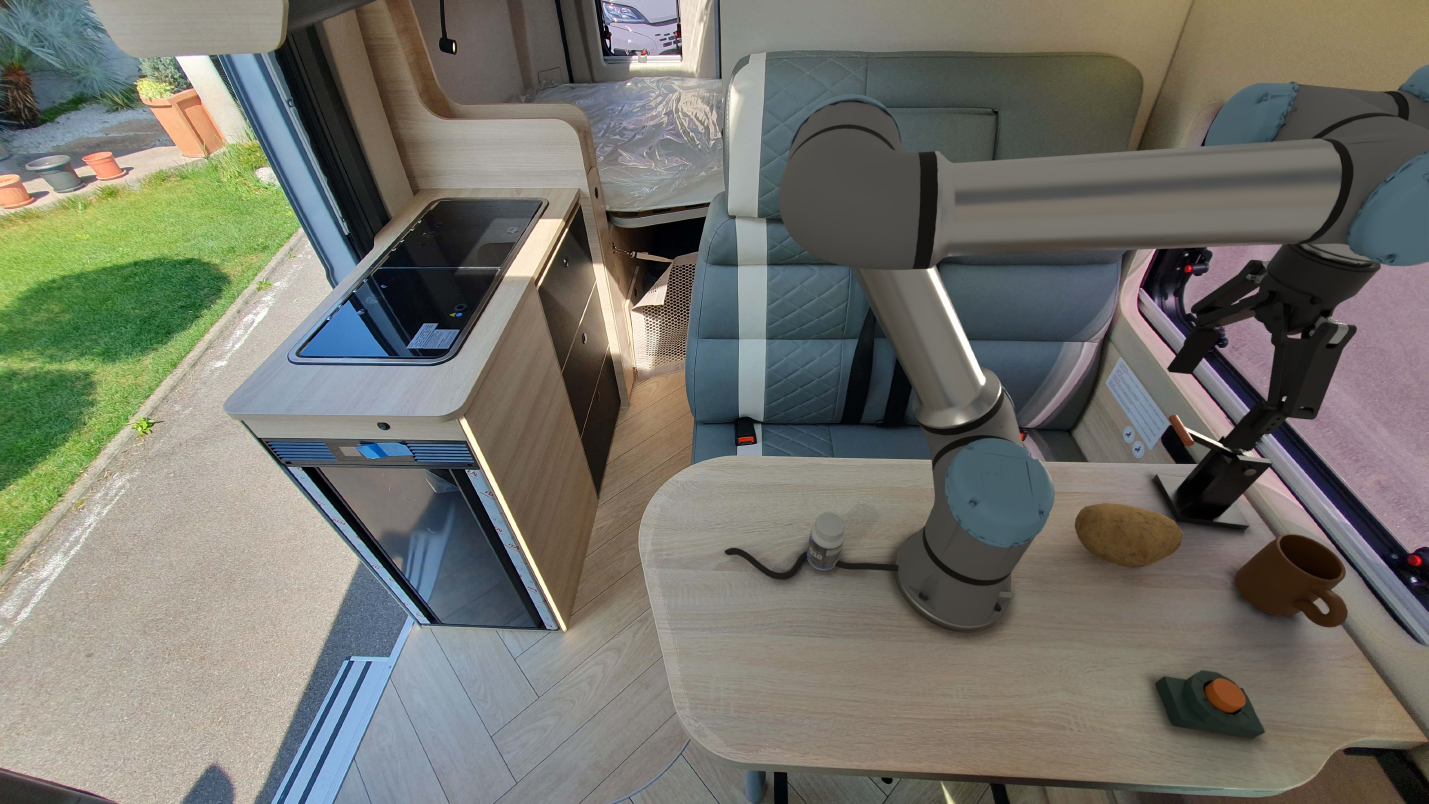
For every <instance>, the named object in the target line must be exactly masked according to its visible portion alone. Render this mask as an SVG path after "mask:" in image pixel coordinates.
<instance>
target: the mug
mask: <svg viewBox="0 0 1429 804" xmlns="http://www.w3.org/2000/svg"><path fill="white" fill-rule="evenodd" d="M1346 572H1347V570H1346V568H1345V564H1344V563H1343V561H1342V560H1341V558H1340V557H1339V556H1338V555H1337V553H1335V552H1333V550H1331V548H1329V547H1328V546H1326V545H1324V544H1323V543H1321V542H1319V541H1318V540H1315V539H1313V538H1311V537H1309V536H1306V535H1302V534H1299V533H1283V534H1280V535H1279V536H1277V537H1275V538H1274V539H1273V540H1271V541H1270V542H1269V543H1267V544H1266V545H1265V546H1264V547H1263V548H1261V549H1260V550H1259V551H1258V552H1257V553H1256V554H1254V555H1253V556H1252V557H1251V558H1250V559H1249V560H1248V561H1247V562H1246V563H1244V565H1243V566H1241V567H1240V568H1239V569H1238V570H1237V572H1236V573H1235V575H1234V584H1235V587H1236V589H1237V590H1238V593H1239V594H1240V595H1241V596H1242V597H1243V598H1244V599H1245V600H1246V601H1247V602H1248V603H1249V604H1251V605H1252V606H1253V607H1255V608H1256V609H1258V610H1260V611H1262V612H1264V613H1266V614H1269V615H1271V616H1274V617H1282V618H1283V617H1286V618H1287V617H1291V616H1294V615H1297V614H1298V613H1300V612H1302V613H1303V614H1304V616H1305V617H1306V618H1307V619H1308V620H1310V622H1312V623H1314V624H1315V625H1317V626H1320V627H1322V628H1328V629H1329V628H1336V627H1339V626H1341V625H1343V623H1345V622H1346V620H1347V618H1348V614H1349V610H1348V607H1347V605H1346V603H1345V601H1344V599H1343V598H1342V597H1341V596H1340V595H1339V594H1337V593H1336V592H1335V591H1333V589H1335V588H1336V587H1337V586H1338V585H1339V584H1340V583H1342V581H1343V580H1344V579H1345V578H1346V576H1347V575H1346V574H1347V573H1346ZM1319 599H1321V600H1322V601H1323V602H1324V603H1325V604H1326V605H1327V606H1328V612H1327V613H1324V612H1323V611H1322V610H1321V609H1320V607H1319V606H1318V605H1317V604H1316V603H1315V602H1316V601H1317V600H1319Z"/></svg>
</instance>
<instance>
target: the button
mask: <svg viewBox="0 0 1429 804" xmlns="http://www.w3.org/2000/svg"><path fill="white" fill-rule="evenodd" d="M1239 687H1240V686H1239ZM1239 687H1237V686H1236V685H1235V684H1234V683H1232V682H1230V681H1228V680H1226V679H1216V680H1214V681H1213V682H1211V683H1210V684H1208V685H1207V686H1206V687H1205V695H1206V697H1207V699H1208V700H1209V702H1210V703H1211V704H1212V705H1213V706H1214V707H1216V708H1217V709H1219V710H1221V711H1223V712H1226V713H1233V712H1235V711H1236V710H1238V709H1240V708H1241V707H1243V706H1244V705H1245V703H1246V699H1245V696H1244V694H1243V692H1242V691H1241V690H1240V689H1239Z"/></svg>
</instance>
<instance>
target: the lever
mask: <svg viewBox="0 0 1429 804" xmlns="http://www.w3.org/2000/svg"><path fill="white" fill-rule="evenodd" d="M1168 421H1169V423H1170V424H1171V426H1172V427H1173V429H1174V431H1175V432H1176V434H1177V436H1178V437H1179V439H1180V441H1181V442H1182V443H1183V445H1184V446H1185V447H1193V446H1194V445H1195V443H1196V444H1198V445H1201V446H1202V447H1205V448H1207V449H1209V450H1213V451H1216V452H1218V453H1220V454H1222V456H1223V457H1224V458H1225V460H1226V461H1227V463H1228V464H1229V463H1230V462H1231V461H1232V459H1233V458H1234V457H1235V456H1236V455H1240V456H1248V457H1256V455H1254V453H1253V452H1252V450H1251V451H1250V450H1245V449H1236V448H1227V447H1224V446H1223V445H1222V444H1220V443H1218V441H1216V440H1214V439H1212V438H1210V437H1208V436H1205V435H1203V434H1201V433H1199V432H1197V431H1195V430H1193V429H1190V428H1188V427H1187V426H1185V425H1184V423H1183V421H1182V420H1181V418H1180V417H1179V416H1178V415H1177V414H1172V415H1170V416H1169V417H1168Z"/></svg>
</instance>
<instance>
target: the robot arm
mask: <svg viewBox="0 0 1429 804" xmlns="http://www.w3.org/2000/svg"><path fill="white" fill-rule="evenodd" d="M902 143H903V141H902V132H901V128H900V125H899V123H898V121H897V119H896V118H895V115H893V114H892V113H891V111H890V110H889V109H888V108H887V107H886V106H885V105H884V104H882V102H880V101H879V100H878V99H875V98H873V97H870V96H868V95H864V94H858V93H846V94H845V93H844V94H840V95H835V96H833V97H830V98H828V99H826V100H824V101H822V102H821V103H819V104H817V105H816V106H815V107H814V108H813V109H812V110H811V111H810V112H808V114H806V116H805V117H804V119H803V120H802V121H801V123H799V125H798V127H797V128H796V129H795V132H794V133H793V135H792V138H791V141H790V145H789V149H788V156H787V160H786V165H785V167H784V171H783V173H782V176H781V179H780V183H779V189H778V207H779V212H780V216H781V220H782V222H783V224H784V227H785V230H786V231H787V233H788V234H789V235H790V237H791V238H792V240H793V241H794V242H795V243H796V244H797V245H798V246H799V247H800V248H801V249H802V250H804V251H805V252H807V253H808V254H810V255H812V257H813V256H814V257H815V258H817V259H819V260H821V261H825V262H828V263H832V264H834V265H838V266H844V267H849V269H850V271H851V273H852V274H853V277H854V279H855V280H856V282H857V285H858V286H859V288H860V290H861V292H862V293H863V296H864V298H865V299H866V301H867V303H868V305H869V307H870V309H871V311H872V313H873V315H874V316H875V319H876V320H877V322H878V324H879V326H880V328H881V330H882V332H883V334H884V336H885V337H886V340H887V341H888V343H889V346H890V347H891V349H892V351H893V353H894V355H895V356H896V359H897V361H898V362H899V365H900V366H901V368H902V370H903V372H904V374H905V376H906V378H907V379H908V382H909V383H910V385H911V387H912V389H913V391H914V396H913V398H912V400H911V412H912V414H913V416H914V418H915V419H916V421H917V423H918V425H919V427H920V429H921V431H922V433H923V435H924V436H925V439H926V440H927V441H926V442H927V445H928V447H929V452H930V460H931V469H932V470H931V472H932V480H933V481H932V482H933V489H934V500H933V506H932V508H931V510H930V513H929V514H928V517H927V521H926V522H925V525H924V526H922V527H921V528H920V529H919V530H918V531H916V532H914V533H913V534H911V535H910V536H909V537H907V538H906V540H905V541H904V542H903V543H902V545H901V546H900V548H899V550H898V553H897V556H896V558H895V562H894V564H892V563H891V564H890V563H878V562H877V563H876V562H846V561H841V560H838V561H837V563H836V564H835V567H836V568H839V569H843V570H851V571H852V570H853V571H858V570H860V571H862V570H866V571H867V570H868V571H871V570H872V571H884V572H894V576H895V577H894V578H895V582H896V585H897V587H898V590H899V592H900V593H901V595H902V597H903V598H904V599H905V601H906V602H907V603H908V604H909V606H910V607H911V608H912V609H913V610H914V611H915V612H917V614H918V615H920V616H922V617H923V618H924V619H926V620H927V621H929V622H931V623H932V624H934V625H936V626H938V627H941V628H944V629H946V630H949V631H953V632H954V631H955V632H962V633H974V632H979V631H982V630H985V629H988V628H990V627H992V626H993V625H994V624H995V623H997V621H999V620H1000V618H1001V617H1002V616H1003V614H1004V613H1005V611H1006V610H1007V607H1008V605H1009V603H1010V599H1014V597H1015V596H1016V595H1017V592H1015V591H1012V572H1013V571H1014V569H1015V567H1016V566H1017V565H1018V563H1019V562H1020V560H1021V559H1022V558H1023V556H1024V554H1025V553H1026V552H1027V550H1028V549H1029V547H1030V545H1031V544H1032V543H1033V541H1034V539H1035V538H1036V536H1038V535H1039V534H1040V533H1041V532H1042V531H1043V529H1044V527H1045V526H1046V523H1047V521H1048V519H1049V517H1050V513H1051V511H1052V509H1053V506H1054V502H1055V486H1054V482H1053V481H1054V480H1053V479H1052V476H1051V474H1050V472H1049V470H1048V469H1047V467H1046V466H1045V464H1044V463H1043V462H1042V461H1041V460H1040V459H1039V458H1032V457H1031V456H1032V452H1031V451H1030V450H1029V449H1027V448H1025V447H1024V443H1023V439H1022V435H1021V432H1020V428H1019V424H1018V421H1017V417H1016V415H1017V414H1016V413H1017V412H1016V408H1015V404H1014V402H1013V400H1012V398H1011V396H1010V394H1009V393H1008V391H1007V389H1006V388H1005V387H1004V385H1003V384H1002V383H1001V380H1000V379H999V377H998V376H997V375H996V373H995V372H993V371H992V370H991V369H989V368H986V367H984V366H981V365H980V364H979V362H978V360H977V357H976V355H975V352H974V350H973V348H972V346H971V344H970V341H969V338H968V336H967V335H966V331H965V329H964V328H963V327H964V326H963V325H962V323H961V321H960V318H959V316H958V314H957V313H958V312H957V311H956V308H955V306H954V304H953V302H952V300H951V297H950V295H949V293H948V291H947V288H946V286H945V284H944V281H943V279H942V276H941V274H940V272H939V270H938V267H937V264H939V262H941V261H942V260H943V259H945V258H948V257H966V256H967V257H969V256H973V257H974V256H996V255H997V256H998V255H1025V254H1027V255H1028V254H1029V255H1030V254H1055V253H1080V252H1081V253H1083V252H1084V253H1085V252H1108V251H1109V252H1111V251H1134V250H1137V251H1138V250H1165V249H1167V250H1169V249H1192V248H1219V247H1222V248H1223V247H1224V248H1225V247H1247V246H1248V247H1250V246H1252V247H1253V246H1277V245H1280V247H1279V248H1278V250H1277V251H1276V252H1275V253H1274V255H1273V256H1272V257H1271V259H1270V260H1262V259H1250V260H1248V261H1247V263H1246V264H1245V265H1244V266H1243V268H1241V270H1240V271H1239V272H1238V273H1237V274H1235V276H1233V277H1232V278H1230V279H1228V280H1227V281H1226V282H1224V283H1223V284H1222V285H1220V286H1219V287H1217V288H1216V289H1214V290H1213V291H1211V292H1210V293H1208V294H1207V295H1206V296H1204V297H1203V298H1202V299H1200V300H1199V301H1197V302H1196V303H1193V305H1192V306H1191V307H1190V313H1191V314H1193V315H1195V316H1196V318H1195V319H1194V326H1193V328H1192V330H1191V331H1190V332H1189V334H1188V335H1187V336H1186V338H1185V339H1184V341H1183V346H1182V347H1181V348H1180V350H1179V351H1177V354H1176V355H1175V357H1174V358H1173V359H1172V361H1171V362H1170V364H1169V365H1168V366H1167V367H1166V370H1167V372H1169V373H1173V374H1182V375H1192V374H1193V372H1194V371H1195V370H1196V369H1197V367H1198V366H1199V365H1200V363H1201V362H1202V361H1203V359H1205V357H1206V356H1207V354H1208V353H1209V352H1210V350H1211V349H1212V347H1213V346H1214V345H1215V344H1216V342H1218V340H1219V339H1220V337H1221V336H1222V334H1223V333H1222V332H1221V331H1220V330H1219V329H1224V330H1225V329H1226V328H1225V327H1226V326H1230V325H1232V324H1235V323H1238V322H1241V321H1244V320H1248V319H1250V318H1251V319H1252V318H1254V319H1255V320H1256V321H1257V322H1259V323H1261V324H1263V326H1264V328H1265V330H1266V331H1267V332H1268V333H1269V334H1271V336H1270V343H1271V345H1273V347H1274V351H1273V358H1272V364H1271V372H1270V378H1269V379H1270V380H1269V386H1268V391H1267V392H1268V393H1267V399H1266V400H1265V401H1264V400H1258V401H1257V402H1256V403H1255V404H1254V406H1252V407H1251V409H1250V410H1249V411H1248V412H1246V414H1245V415H1244V416H1243V417H1242V419H1241V420H1240V421H1238V423H1237V424H1236V425H1235V426H1234V427H1233V428H1232V430H1230V431H1229V432H1228V434H1227V435H1225V436H1226V437H1225V438H1224V439H1223V441H1222V442H1221V444H1222V445H1223V446H1224V447H1227V448H1236V449H1245V450H1250V449H1251V447H1252V446H1253V445H1254V444H1255V443H1256V442H1257V443H1258V441H1260V439H1261V438H1262V437H1263V436H1264V435H1270V434H1273V433H1274V432H1275V431H1276V430H1277V429H1278V428H1279V427H1280V426H1281V425H1282V424H1283V423H1284V422H1285V421H1286V420H1287V419H1288V418H1290V419H1297V420H1299V419H1300V420H1308V421H1310V420H1311V421H1313V420H1315V419H1316V418H1317V417H1318V415H1319V412H1320V409H1321V407H1322V404H1323V402H1324V400H1325V396H1326V394H1327V392H1328V389H1329V387H1330V384H1331V381H1332V379H1333V376H1334V373H1335V371H1336V369H1337V367H1338V363H1339V361H1340V358H1341V356H1342V353H1343V351H1344V349H1345V347H1346V346H1347V345H1348V344H1349V343H1350V341H1351V340H1352V339H1353V338H1354V336H1355V335H1356V334H1357V332H1358V328H1357V326H1356V324H1351V323H1343V322H1340V321H1339V320H1337V319H1336V318H1334V317H1333V315H1334V313H1335V310H1336V308H1337V307H1338V306H1339V305H1340V304H1342V303H1343V302H1345V301H1348V300H1350V299H1352V298H1354V297H1356V296H1357V295H1358V294H1359V293H1360V292H1361V291H1362V289H1363V288H1364V287H1365V286H1366V285H1367V284H1368V283H1369V282H1370V281H1371V280H1372V279H1373V278H1374V277H1375V275H1376V274H1377V273H1378V272H1379V271H1380V270H1381V268H1382V265H1384V266H1389V267H1412V266H1419V265H1420V266H1421V265H1424V264H1427V263H1429V64H1425V65H1422V66H1420V67H1419V68H1418V69H1415V71H1413V72H1412V74H1411V75H1410V76H1409V77H1408V78H1407V79H1406V80H1405V81H1404V83H1402V84H1400V85H1399V87H1398V89H1397V90H1385V91H1382V90H1381V91H1380V90H1377V91H1376V90H1365V89H1355V88H1347V87H1346V88H1345V87H1336V86H1335V87H1334V86H1325V85H1324V86H1322V85H1314V84H1303V83H1298V82H1297V81H1290V82H1257V83H1253V84H1249V85H1247V86H1244V87H1243V88H1241V89H1240V90H1239V91H1237V92H1236V93H1234V94H1233V95H1232V96H1231V97H1229V99H1228V100H1227V101H1226V102H1225V103H1224V104H1223V105H1222V107H1221V108H1220V110H1218V112H1217V114H1216V116H1215V117H1214V120H1213V121H1212V123H1211V125H1210V127H1209V130H1208V131H1207V134H1206V137H1205V140H1204V146H1203V145H1202V146H1188V147H1174V148H1159V149H1144V150H1130V151H1128V150H1127V151H1115V152H1113V151H1112V152H1099V153H1098V152H1097V153H1086V154H1085V153H1084V154H1083V153H1082V154H1071V155H1053V156H1040V157H1025V158H1023V157H1022V158H1012V159H1011V158H1010V159H1009V158H1008V159H994V160H981V161H980V160H979V161H967V162H966V161H965V162H951V161H950V160H948V158H946V157H945V156H944V155H943V154H942V153H941V151H939V150H933V151H932V150H931V151H920V152H919V151H918V152H915V151H911V152H910V151H904V148H903V145H902ZM1257 289H1258V291H1257V292H1256V293H1254V294H1252V295H1249V294H1251V293H1252V292H1254V291H1255V290H1257ZM1247 295H1248V296H1247ZM1246 296H1247V297H1246ZM1299 334H1300V338H1297V337H1290V336H1297V335H1299ZM1284 397H1285V399H1283V398H1284ZM724 554H725V555H727V556H732V555H734V556H735V555H736V556H738V557H741V558H742V559H745V560H746V561H747V562H748V563H749V564H751V565H752V566H753V567H754V568H755V569H756V570H758V571H759V572H760V573H762V574H764V575H765V576H767V577H769V578H771V579H775V580H789V579H790V578H793V577H794V576H795V575H796V574H797V573H798V572H799V571H800V569H801V567H802V565H803V564H804V563H805V561H806V560H807V550H805V551H803V552H802V553H801V554H800V555H799V556H798V558H797V559H796V561H795V562H794V564H793V566H792V567H791V568H790V569H789V570H788V571H785V572H777V571H774V570H772V569H769V568H768V567H766V566H765V565H763V564H762V563H761V562H760V561H759V560H758V559H757V558H755V557H754V556H753V555H752V554H750V553H749V552H747V551H746V550H744V549H742V548H738V547H729V548H727V549H725V550H724Z"/></svg>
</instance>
